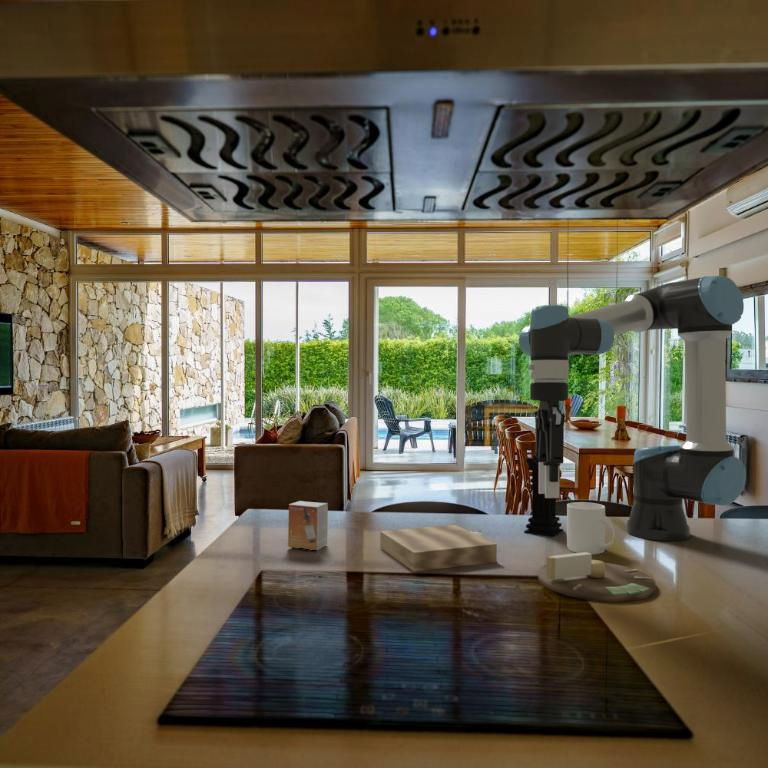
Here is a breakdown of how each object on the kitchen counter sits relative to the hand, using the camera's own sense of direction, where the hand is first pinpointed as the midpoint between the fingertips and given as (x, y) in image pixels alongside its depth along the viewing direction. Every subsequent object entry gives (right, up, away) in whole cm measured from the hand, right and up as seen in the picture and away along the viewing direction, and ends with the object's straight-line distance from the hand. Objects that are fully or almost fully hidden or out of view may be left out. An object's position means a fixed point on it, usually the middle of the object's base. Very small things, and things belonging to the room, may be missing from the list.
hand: (548, 495), depth 126 cm
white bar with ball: (+4, -15, -5) cm, 17 cm away
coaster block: (-22, -17, +16) cm, 32 cm away
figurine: (-10, -24, +34) cm, 43 cm away
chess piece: (+9, -17, +37) cm, 42 cm away
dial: (+8, -17, -4) cm, 19 cm away
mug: (+15, -17, +19) cm, 29 cm away
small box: (-52, -17, +23) cm, 59 cm away
